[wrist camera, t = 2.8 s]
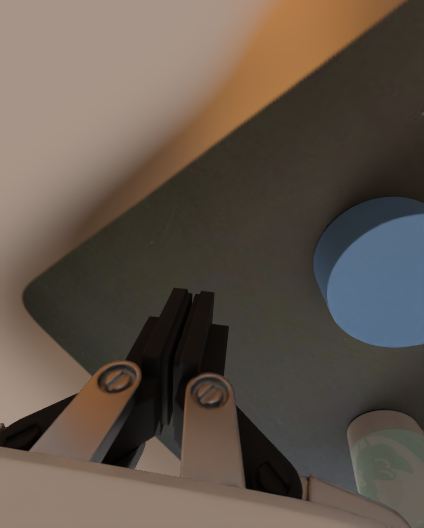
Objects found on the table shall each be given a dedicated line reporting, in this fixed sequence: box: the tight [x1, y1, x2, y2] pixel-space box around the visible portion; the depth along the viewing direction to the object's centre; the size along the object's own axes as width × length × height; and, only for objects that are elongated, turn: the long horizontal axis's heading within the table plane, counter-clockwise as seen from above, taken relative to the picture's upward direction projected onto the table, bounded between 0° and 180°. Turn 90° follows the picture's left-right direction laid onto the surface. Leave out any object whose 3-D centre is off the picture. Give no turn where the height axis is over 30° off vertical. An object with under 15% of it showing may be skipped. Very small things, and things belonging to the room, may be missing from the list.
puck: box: [313, 197, 424, 347], centre depth 16 cm, size 8×8×4 cm
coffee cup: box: [347, 410, 424, 528], centre depth 19 cm, size 8×8×12 cm
